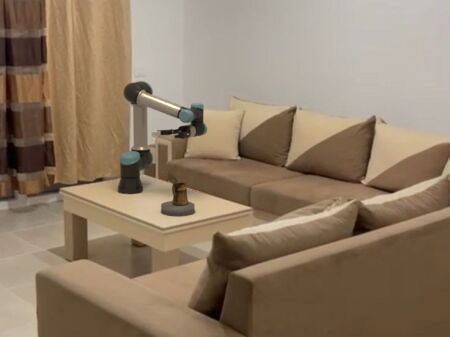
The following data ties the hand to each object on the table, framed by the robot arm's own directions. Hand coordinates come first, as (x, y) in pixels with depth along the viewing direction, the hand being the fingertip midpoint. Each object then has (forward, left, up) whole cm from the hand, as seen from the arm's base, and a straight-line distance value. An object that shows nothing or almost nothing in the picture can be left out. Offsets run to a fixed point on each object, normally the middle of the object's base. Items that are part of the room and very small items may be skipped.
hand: (160, 135), depth 417 cm
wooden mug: (+22, +8, -34) cm, 42 cm away
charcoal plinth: (+23, +8, -38) cm, 45 cm away
